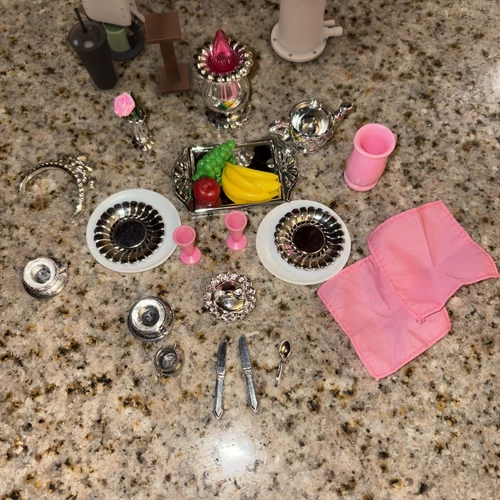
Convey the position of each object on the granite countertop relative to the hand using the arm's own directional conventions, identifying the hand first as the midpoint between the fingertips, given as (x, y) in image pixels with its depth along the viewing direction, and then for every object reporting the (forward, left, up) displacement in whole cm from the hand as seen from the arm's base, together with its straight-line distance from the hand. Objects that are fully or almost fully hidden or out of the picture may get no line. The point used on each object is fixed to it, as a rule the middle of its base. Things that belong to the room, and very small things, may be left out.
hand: (120, 40), depth 111 cm
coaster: (0, 0, -1) cm, 1 cm away
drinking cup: (+4, +10, -1) cm, 11 cm away
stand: (-11, +12, -1) cm, 16 cm away
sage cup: (0, 0, -1) cm, 1 cm away
